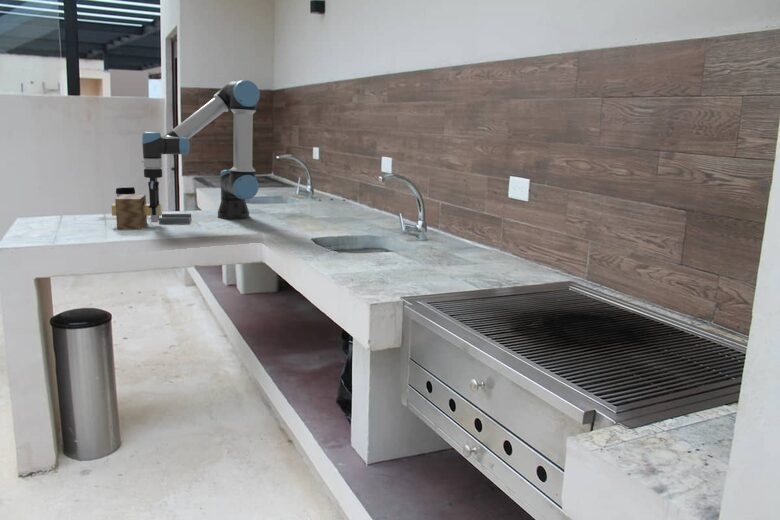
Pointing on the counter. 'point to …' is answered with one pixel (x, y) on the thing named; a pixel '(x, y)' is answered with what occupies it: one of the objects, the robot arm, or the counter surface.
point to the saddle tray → (175, 219)
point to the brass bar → (145, 209)
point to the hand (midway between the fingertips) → (155, 221)
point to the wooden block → (130, 211)
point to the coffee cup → (125, 191)
